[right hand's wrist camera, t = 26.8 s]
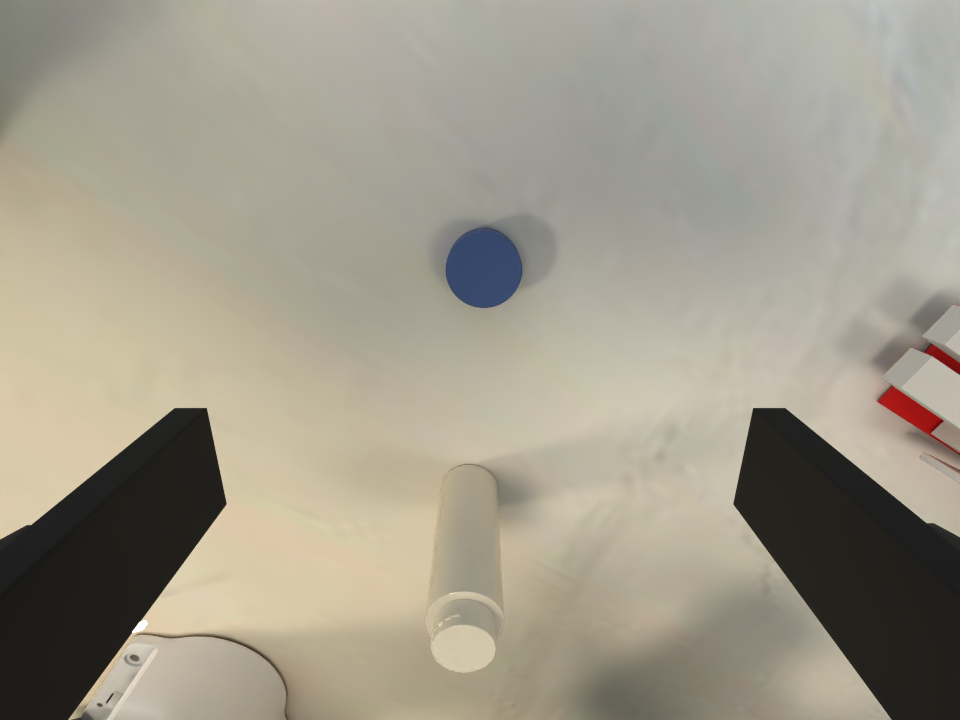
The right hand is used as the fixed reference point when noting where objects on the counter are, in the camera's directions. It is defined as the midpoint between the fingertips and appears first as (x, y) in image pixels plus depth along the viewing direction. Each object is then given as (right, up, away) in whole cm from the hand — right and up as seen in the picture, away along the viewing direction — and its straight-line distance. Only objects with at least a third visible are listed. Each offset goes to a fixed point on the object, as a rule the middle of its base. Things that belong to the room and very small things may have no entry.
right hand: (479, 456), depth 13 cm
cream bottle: (-1, -8, +31) cm, 32 cm away
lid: (0, +9, +23) cm, 24 cm away
